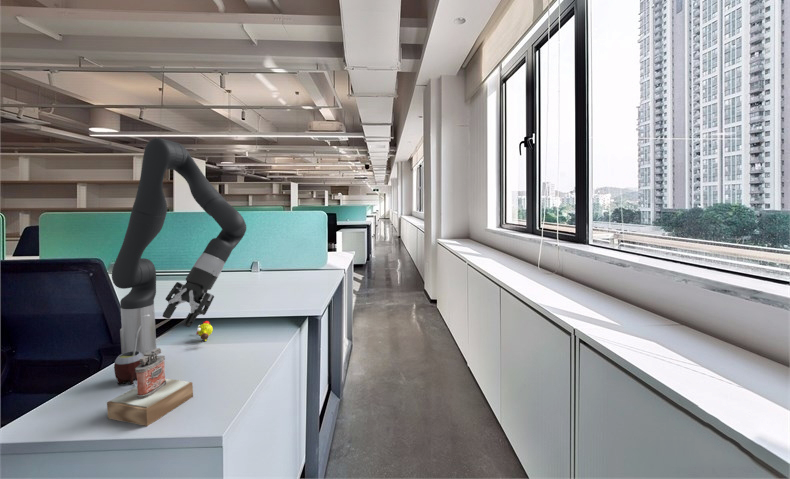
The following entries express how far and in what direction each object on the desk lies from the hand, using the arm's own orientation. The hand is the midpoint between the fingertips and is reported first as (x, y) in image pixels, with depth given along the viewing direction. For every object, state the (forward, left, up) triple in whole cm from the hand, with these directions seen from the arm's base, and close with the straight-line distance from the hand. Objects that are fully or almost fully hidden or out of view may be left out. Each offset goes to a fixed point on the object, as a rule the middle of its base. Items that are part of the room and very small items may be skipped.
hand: (175, 322), depth 98 cm
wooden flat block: (+4, -12, -18) cm, 22 cm away
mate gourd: (-15, -2, -18) cm, 24 cm away
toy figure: (-18, +29, -18) cm, 38 cm away
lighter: (+4, -12, -14) cm, 19 cm away
